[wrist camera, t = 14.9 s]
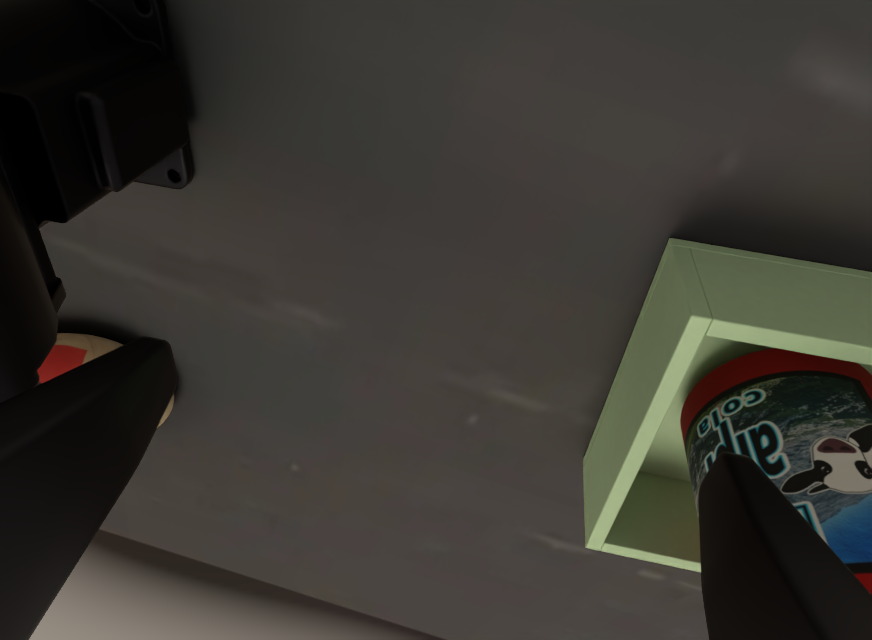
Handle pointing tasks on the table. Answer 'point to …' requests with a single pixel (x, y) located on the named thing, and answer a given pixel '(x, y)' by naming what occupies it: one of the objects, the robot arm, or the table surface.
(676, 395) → the bin
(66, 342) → the ladybug figurine
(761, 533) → the robot arm
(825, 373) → the beverage can
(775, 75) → the table surface
